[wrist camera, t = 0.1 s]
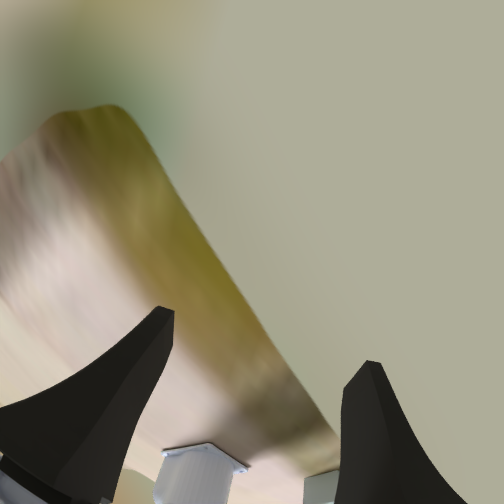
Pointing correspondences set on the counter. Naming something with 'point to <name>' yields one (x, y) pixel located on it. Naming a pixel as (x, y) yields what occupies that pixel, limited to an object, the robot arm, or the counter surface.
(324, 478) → the grey cube
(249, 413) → the counter surface
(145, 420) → the counter surface
